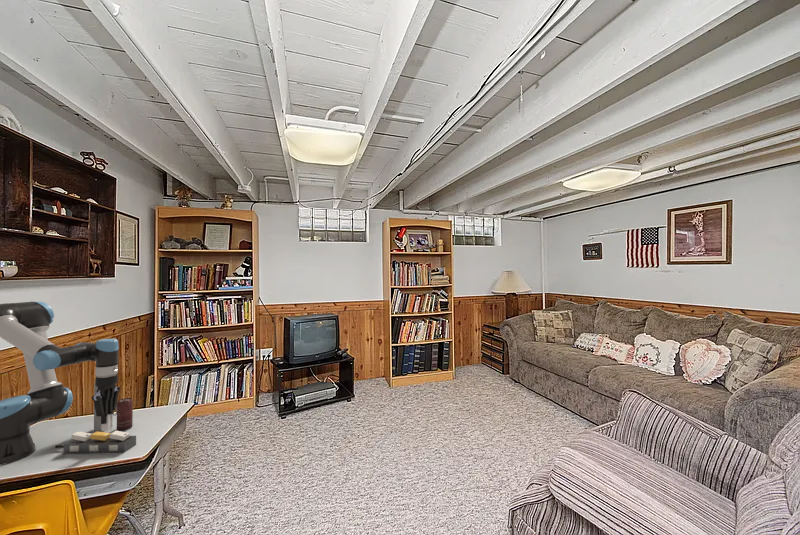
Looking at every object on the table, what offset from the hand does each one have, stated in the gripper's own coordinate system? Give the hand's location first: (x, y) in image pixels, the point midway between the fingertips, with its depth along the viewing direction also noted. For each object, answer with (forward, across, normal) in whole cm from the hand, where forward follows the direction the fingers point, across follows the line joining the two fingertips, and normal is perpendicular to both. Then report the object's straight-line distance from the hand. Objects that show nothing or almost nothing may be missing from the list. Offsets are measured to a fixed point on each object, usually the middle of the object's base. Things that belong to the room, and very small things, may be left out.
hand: (105, 430), depth 153 cm
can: (+8, +21, +7) cm, 24 cm away
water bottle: (+9, +22, +17) cm, 29 cm away
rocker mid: (+2, 0, +2) cm, 3 cm away
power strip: (+8, 0, +5) cm, 10 cm away
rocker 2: (+2, 0, -6) cm, 6 cm away
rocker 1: (+3, 0, +10) cm, 10 cm away
